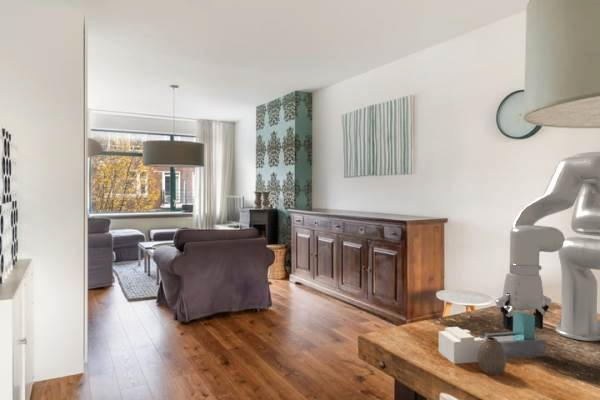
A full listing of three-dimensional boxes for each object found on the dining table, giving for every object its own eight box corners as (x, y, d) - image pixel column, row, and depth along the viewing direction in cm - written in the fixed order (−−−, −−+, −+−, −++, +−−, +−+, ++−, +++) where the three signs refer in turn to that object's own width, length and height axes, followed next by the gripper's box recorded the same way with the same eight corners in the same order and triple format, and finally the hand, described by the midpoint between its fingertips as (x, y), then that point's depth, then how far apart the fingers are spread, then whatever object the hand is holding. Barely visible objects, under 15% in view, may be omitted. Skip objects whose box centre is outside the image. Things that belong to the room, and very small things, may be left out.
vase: (472, 366, 108) (472, 334, 108) (496, 365, 109) (497, 333, 108) (485, 378, 101) (485, 344, 101) (512, 377, 102) (512, 343, 101)
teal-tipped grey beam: (524, 343, 120) (524, 310, 120) (535, 349, 116) (535, 315, 116) (481, 347, 118) (481, 313, 118) (491, 353, 114) (491, 318, 113)
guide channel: (526, 345, 122) (526, 330, 122) (546, 355, 114) (546, 340, 114) (484, 348, 120) (484, 333, 120) (501, 359, 112) (501, 343, 112)
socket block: (466, 349, 119) (466, 326, 119) (484, 361, 111) (484, 336, 111) (438, 351, 118) (438, 328, 118) (453, 363, 110) (454, 338, 109)
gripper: (540, 266, 122) (539, 322, 122) (489, 268, 119) (488, 325, 120) (560, 271, 115) (559, 331, 115) (505, 273, 112) (504, 334, 112)
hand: (523, 328), depth 117 cm, fingers open, 9 cm apart
